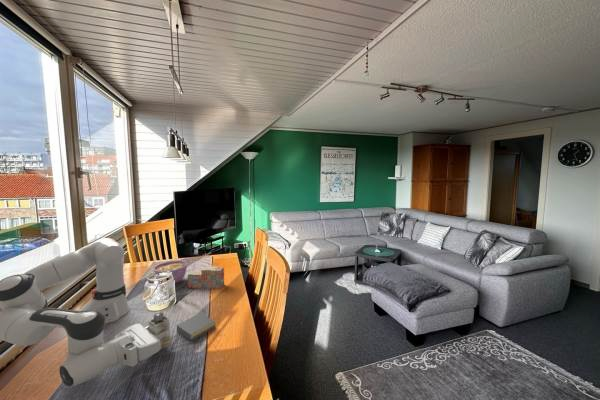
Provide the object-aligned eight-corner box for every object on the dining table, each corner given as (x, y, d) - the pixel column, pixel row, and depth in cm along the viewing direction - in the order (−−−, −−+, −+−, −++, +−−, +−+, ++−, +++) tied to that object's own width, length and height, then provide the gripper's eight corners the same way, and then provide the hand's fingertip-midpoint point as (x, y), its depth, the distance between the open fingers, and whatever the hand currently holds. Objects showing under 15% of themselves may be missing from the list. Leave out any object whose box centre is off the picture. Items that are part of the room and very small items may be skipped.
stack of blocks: (188, 288, 156) (187, 269, 155) (193, 284, 162) (192, 266, 161) (221, 289, 155) (220, 270, 154) (224, 284, 161) (223, 266, 160)
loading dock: (191, 341, 106) (191, 335, 105) (176, 331, 113) (176, 324, 113) (215, 327, 115) (215, 321, 115) (200, 318, 123) (200, 313, 122)
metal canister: (155, 325, 98) (154, 318, 97) (153, 321, 100) (153, 314, 100) (164, 322, 100) (164, 315, 99) (163, 318, 102) (162, 311, 102)
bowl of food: (189, 274, 178) (188, 259, 177) (187, 286, 159) (186, 268, 158) (157, 278, 171) (156, 262, 170) (151, 291, 152) (150, 273, 151)
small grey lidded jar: (156, 351, 97) (154, 326, 96) (149, 345, 100) (147, 320, 99) (171, 342, 102) (170, 318, 101) (164, 337, 105) (163, 314, 104)
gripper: (113, 344, 96) (150, 327, 107) (134, 368, 84) (174, 345, 95) (111, 329, 96) (149, 313, 107) (133, 351, 84) (173, 330, 95)
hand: (161, 328), depth 101 cm, fingers closed on small grey lidded jar, 6 cm apart
